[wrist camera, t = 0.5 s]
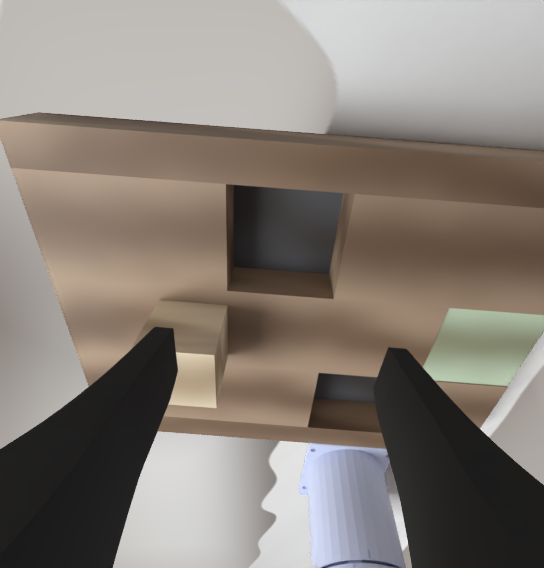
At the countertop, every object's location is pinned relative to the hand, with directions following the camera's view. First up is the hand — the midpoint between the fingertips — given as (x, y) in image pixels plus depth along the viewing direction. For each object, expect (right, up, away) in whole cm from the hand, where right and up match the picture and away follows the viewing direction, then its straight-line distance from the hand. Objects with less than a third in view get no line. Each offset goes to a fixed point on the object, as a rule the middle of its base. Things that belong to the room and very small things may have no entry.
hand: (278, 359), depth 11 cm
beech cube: (-5, 0, +9) cm, 10 cm away
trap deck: (+1, +1, +11) cm, 12 cm away
